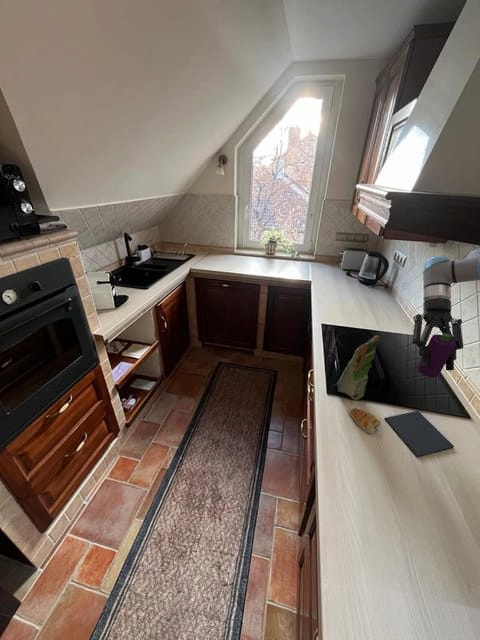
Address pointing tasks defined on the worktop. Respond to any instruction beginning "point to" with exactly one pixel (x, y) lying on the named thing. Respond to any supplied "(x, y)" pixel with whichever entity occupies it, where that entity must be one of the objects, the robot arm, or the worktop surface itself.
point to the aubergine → (437, 354)
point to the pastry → (365, 420)
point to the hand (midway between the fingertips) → (437, 368)
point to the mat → (418, 433)
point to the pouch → (358, 370)
